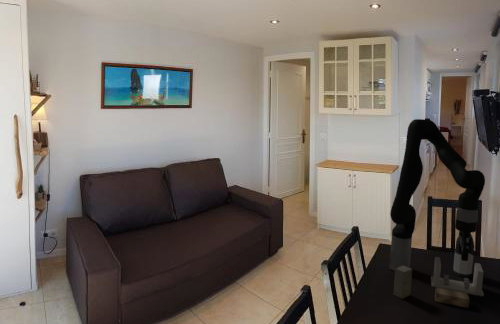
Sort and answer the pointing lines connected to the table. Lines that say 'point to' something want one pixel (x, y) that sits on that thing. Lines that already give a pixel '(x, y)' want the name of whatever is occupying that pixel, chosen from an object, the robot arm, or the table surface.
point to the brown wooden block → (452, 297)
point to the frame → (458, 285)
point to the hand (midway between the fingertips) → (462, 256)
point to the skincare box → (402, 281)
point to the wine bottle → (463, 266)
